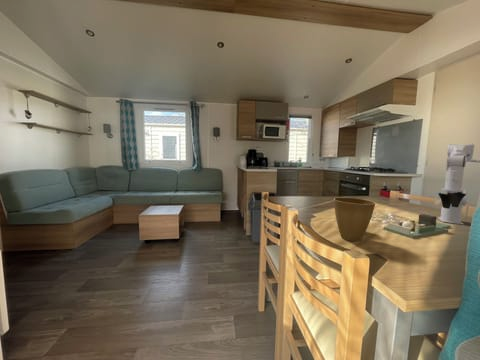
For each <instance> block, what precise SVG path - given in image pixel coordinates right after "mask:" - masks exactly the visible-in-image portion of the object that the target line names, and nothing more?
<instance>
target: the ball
mask: <svg viewBox="0 0 480 360" xmlns="http://www.w3.org/2000/svg"><path fill="white" fill-rule="evenodd" d="M409 221H410V220H405V221H402V222H403V223H402V226H404V227H407V228H411V229H413V224H412V223H411V222H409Z"/></svg>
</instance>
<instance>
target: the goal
mask: <svg viewBox="0 0 480 360" xmlns="http://www.w3.org/2000/svg"><path fill="white" fill-rule="evenodd" d="M400 222H401V218H396V219H395V223H393V222H388V224H387V227H388V228H389V229H392V230H395V231H399V232H402V233H405V234H408V235H411V233H419V227H420V224H416V226H415V232H412V231H411V228H407V227H404V226H400V225H399V223H400Z"/></svg>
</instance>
